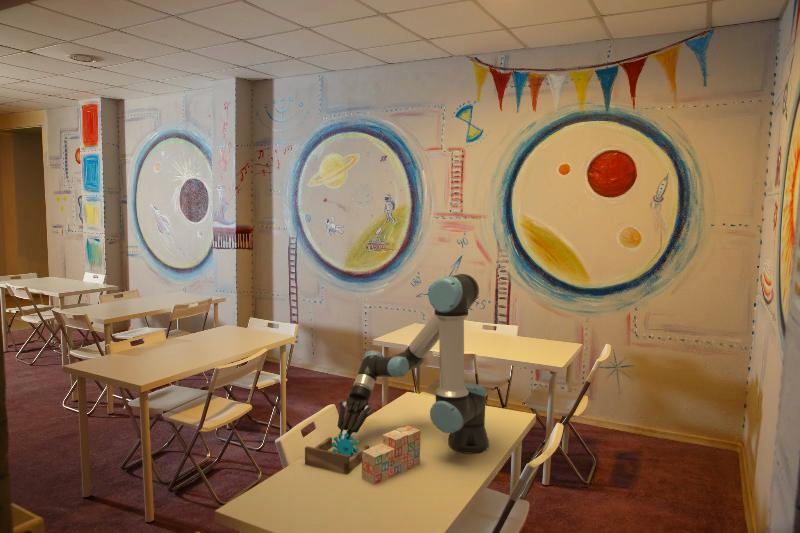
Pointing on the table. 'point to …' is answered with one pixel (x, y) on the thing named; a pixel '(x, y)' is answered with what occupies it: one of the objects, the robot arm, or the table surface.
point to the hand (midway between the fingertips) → (339, 449)
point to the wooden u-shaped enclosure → (332, 458)
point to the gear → (345, 445)
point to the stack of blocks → (392, 455)
